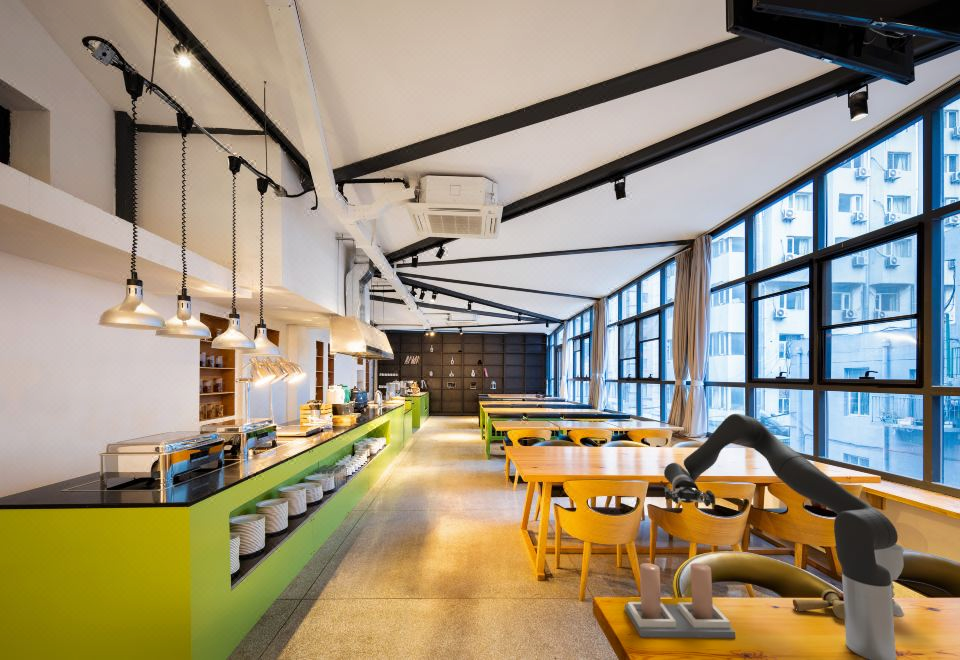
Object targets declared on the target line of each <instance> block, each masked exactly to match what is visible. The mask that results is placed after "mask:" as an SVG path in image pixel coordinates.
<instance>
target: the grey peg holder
mask: <svg viewBox="0 0 960 660" xmlns="http://www.w3.org/2000/svg"><path fill="white" fill-rule="evenodd" d="M639 571H640V572H639V573H640V575H639V578H640V601H628V602H627V604H624V611H625V612H626V614H627V616H628V617H629V619H630V621H631V622H632V624H633V626H634V628H635V630H636V631H637V633H638V634H639V636H640V637H641V638H680V639H681V638H688V639H689V638H690V639H695V638H697V639H699V638H700V639H702V638H703V639H704V638H705V639H706V638H707V639H711V638H712V639H715V638H716V639H736V631H735V630H734V629H733V628H732V627H731V621H730V620H729V619H728V618H727V617H726V616H725V614H723V613H722V612H721V611H720V610H719V608H718V607H717V606H716V605H715V604H713V619H695V618H694V617H693V610H692V602H687V601H685V602H683V601H682V602H680V601H679V602H677V604H664V603H663V602H662V601H661V600H662V599H661V571H660V567H659V565H657V564H653V563H650V562H645V563H640V565H639Z"/></svg>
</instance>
